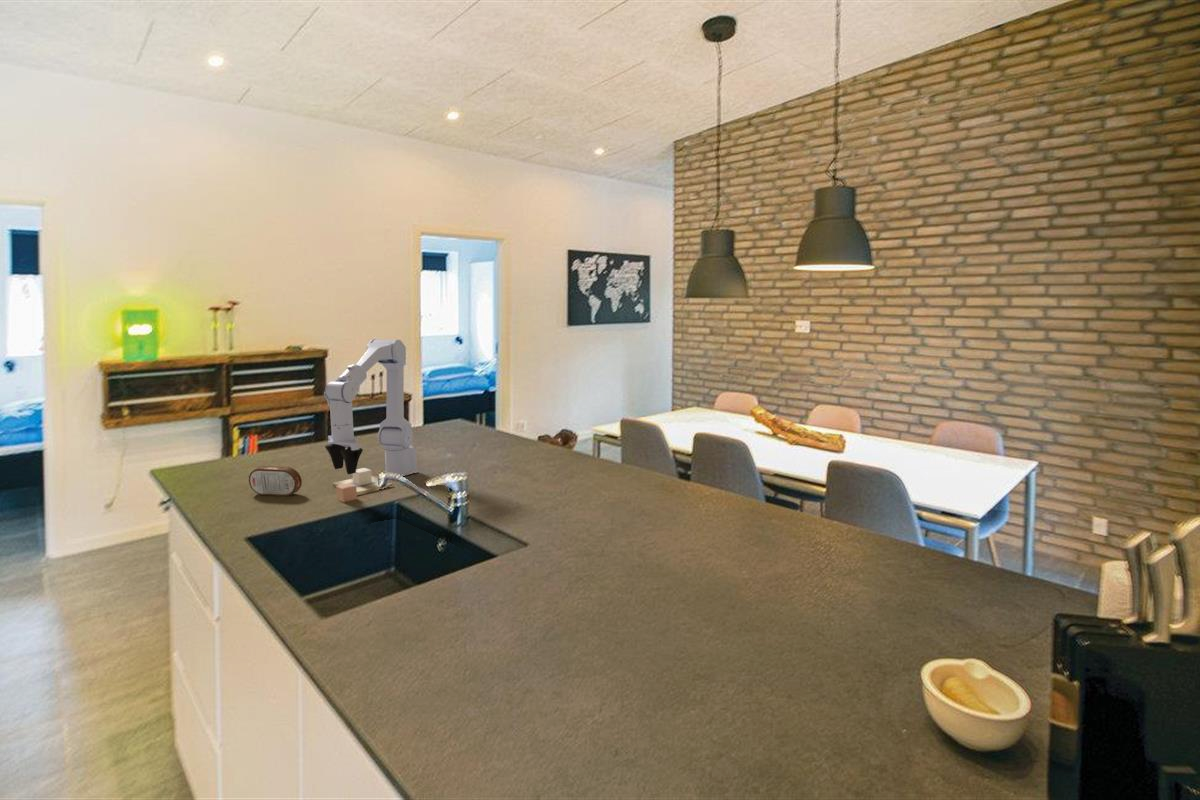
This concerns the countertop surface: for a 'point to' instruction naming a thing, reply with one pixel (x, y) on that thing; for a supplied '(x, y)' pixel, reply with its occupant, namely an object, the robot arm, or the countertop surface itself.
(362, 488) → the base board
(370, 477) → the block base
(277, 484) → the tin
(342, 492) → the block top
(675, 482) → the countertop surface
